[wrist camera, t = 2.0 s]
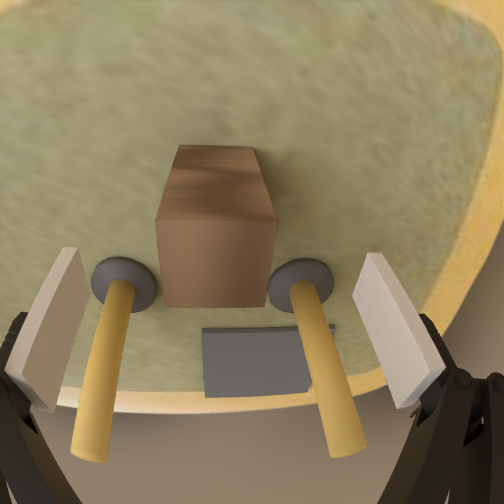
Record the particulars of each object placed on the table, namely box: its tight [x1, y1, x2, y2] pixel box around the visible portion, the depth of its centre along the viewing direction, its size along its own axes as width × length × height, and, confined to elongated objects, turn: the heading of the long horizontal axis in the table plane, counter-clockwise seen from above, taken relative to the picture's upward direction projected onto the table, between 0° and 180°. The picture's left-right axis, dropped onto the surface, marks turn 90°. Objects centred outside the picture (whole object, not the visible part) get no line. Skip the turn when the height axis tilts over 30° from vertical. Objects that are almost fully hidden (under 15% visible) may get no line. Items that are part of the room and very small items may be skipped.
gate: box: [71, 257, 367, 463], centre depth 22 cm, size 22×6×16 cm, turn 85°
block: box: [155, 145, 278, 308], centre depth 18 cm, size 5×5×10 cm
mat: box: [202, 325, 335, 398], centre depth 36 cm, size 14×14×1 cm
